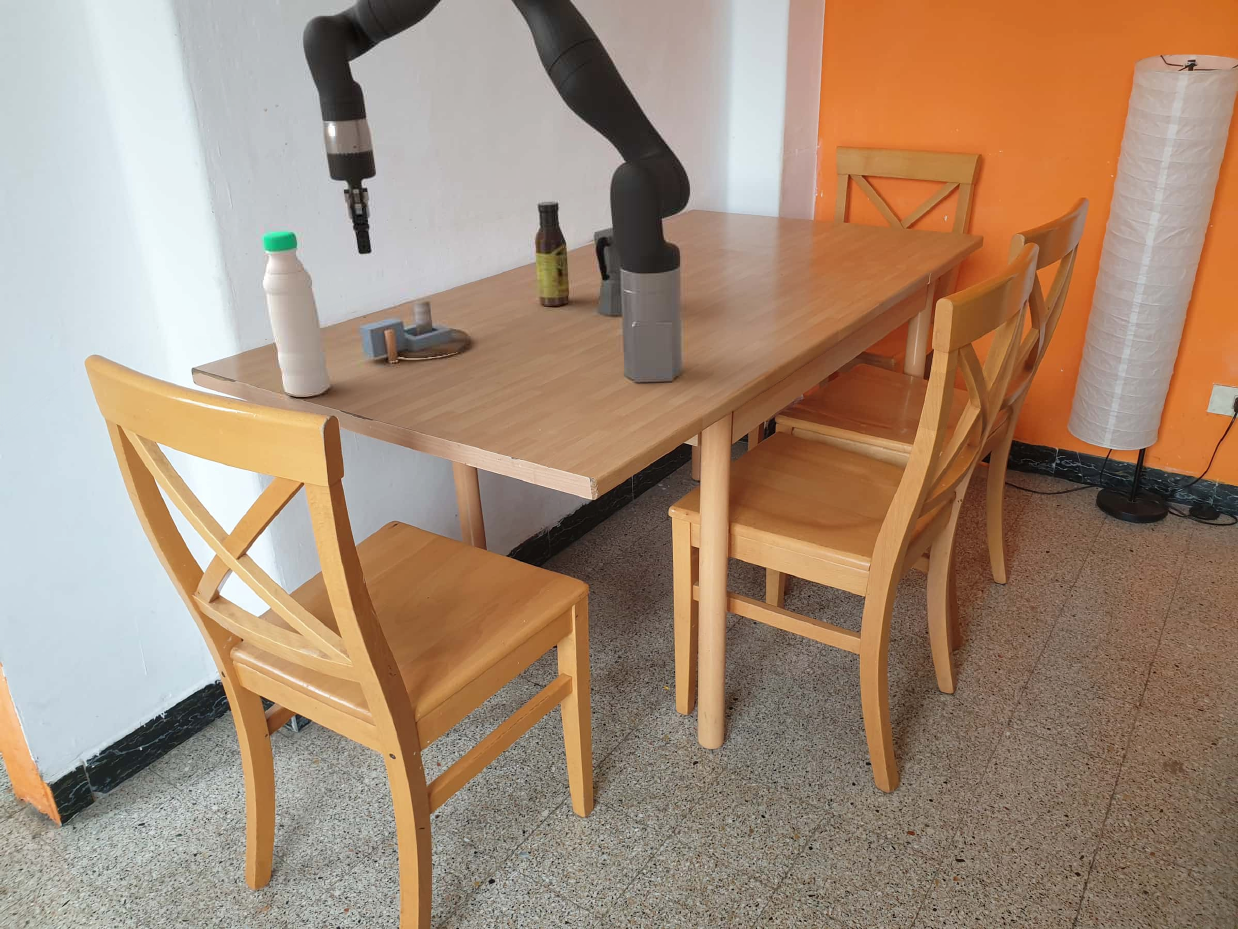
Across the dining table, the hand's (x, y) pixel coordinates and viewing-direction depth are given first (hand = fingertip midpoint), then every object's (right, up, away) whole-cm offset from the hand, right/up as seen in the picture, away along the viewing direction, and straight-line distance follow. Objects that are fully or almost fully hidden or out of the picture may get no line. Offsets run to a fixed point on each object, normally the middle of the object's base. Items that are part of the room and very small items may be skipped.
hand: (365, 252), depth 166 cm
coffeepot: (+44, -7, +21) cm, 49 cm away
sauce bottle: (+31, -4, +28) cm, 42 cm away
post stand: (+10, -16, +5) cm, 19 cm away
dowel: (+5, -19, -2) cm, 20 cm away
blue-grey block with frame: (+6, -16, +2) cm, 17 cm away
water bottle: (-6, -25, -13) cm, 29 cm away
